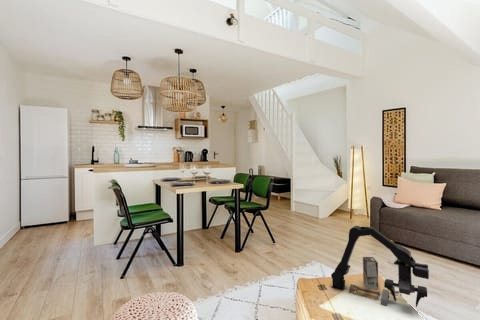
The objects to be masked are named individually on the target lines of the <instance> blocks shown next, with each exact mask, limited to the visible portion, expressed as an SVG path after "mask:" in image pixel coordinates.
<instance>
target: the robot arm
mask: <svg viewBox="0 0 480 320" xmlns="http://www.w3.org/2000/svg"><path fill="white" fill-rule="evenodd" d="M366 236H370V237H372V238H374V239H375V240H376V241H377V242H379V243H380V244H381V245H383V246H384V247H385V248H387V249H388V250H389V251H391V253H392V254H393V256H394V257H395V258H396V259H395V261H394V262H393V264H394V265H397V267H398V268H397V269H398V270H397V271H398V275H397V276H398V281H397V283H396V282H395V281H394V280H393V279H389V278H386V279H385V280H384V282H383V283H384V284H383V285H384V286H383V287H384V289H386V290H389V292H390V293H391V295H392V297H393V300H394V302H397V297H396V296H397V295H396V288H398V293H399V294H403V295H407V296H410V295H411V294H416V298H415V307H418V305H419V303H420V300H421V299H422V298H427V297H428V288H427V287H425V286H423V285H417V286H416V287H415V285H414V284H412V275H413V276H414V277H416V278H421V279H426V280H430V270H429V265H428V264H425V263H418V262H416V260H415V259H414V257H413V256H412V253H411V251H410V250H409V249H407V248H406V247H404V246H402V245H399V244H396V243H395V242H393V240H391V239H390V238H388V237H387V236H386V235H384V234H383V233H382V232H381V231H379V230H378V229H376V228H375V227H374V226H360V225H353V226H352V227H351V228H350V229H349V231H348V241H347V244H346V245H345V249H344V252H343V255H342V257H341V260H340V262H339V263H338V264H337V266H336V267H335V269H334V271H333V272H332V273H331V274H330V276H331V279H332V285H331V288H332V289H335V290H340V291H344V289H345V288H346V279H345V276H347V274H348V273H349V272H350V268H351V265H349V264H350V259H351V256H352V254H353V251H354V249H355V247H356V244H357V241H358V240H359V239H360V237H366ZM415 292H416V293H415Z"/></svg>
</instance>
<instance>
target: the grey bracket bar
mask: <svg viewBox="0 0 480 320" xmlns="http://www.w3.org/2000/svg"><path fill="white" fill-rule="evenodd" d="M381 291H382V292H381V294H380V306H384V307H388V300H389V299H388V298H390V290H388V289H386V288H384V289H382V290H381Z"/></svg>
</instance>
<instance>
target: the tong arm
mask: <svg viewBox="0 0 480 320" xmlns="http://www.w3.org/2000/svg"><path fill="white" fill-rule="evenodd" d="M349 289H353V290H356V291H355V295H356V296H360V297H363V298H368V299H372V300H376V301H379V300H380V297H379V295H377V294H373V293H368V292H364V291H360V290H357V288H355V287H352V286H350V285H349V287H348V290H349Z"/></svg>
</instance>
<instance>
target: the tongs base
mask: <svg viewBox="0 0 480 320" xmlns="http://www.w3.org/2000/svg"><path fill="white" fill-rule="evenodd" d="M350 286H352V287H355V288H357V290H360V291H364V292H368V293H373V294H377V295H379V298H381V291H378V290H377V289H368V288H367V287H364V286H359V285H356V284H353V283H352V284H350V285H349V287H350ZM355 293H356V290H353V289H349V288H348V294H351V295H353V294H355Z"/></svg>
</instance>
